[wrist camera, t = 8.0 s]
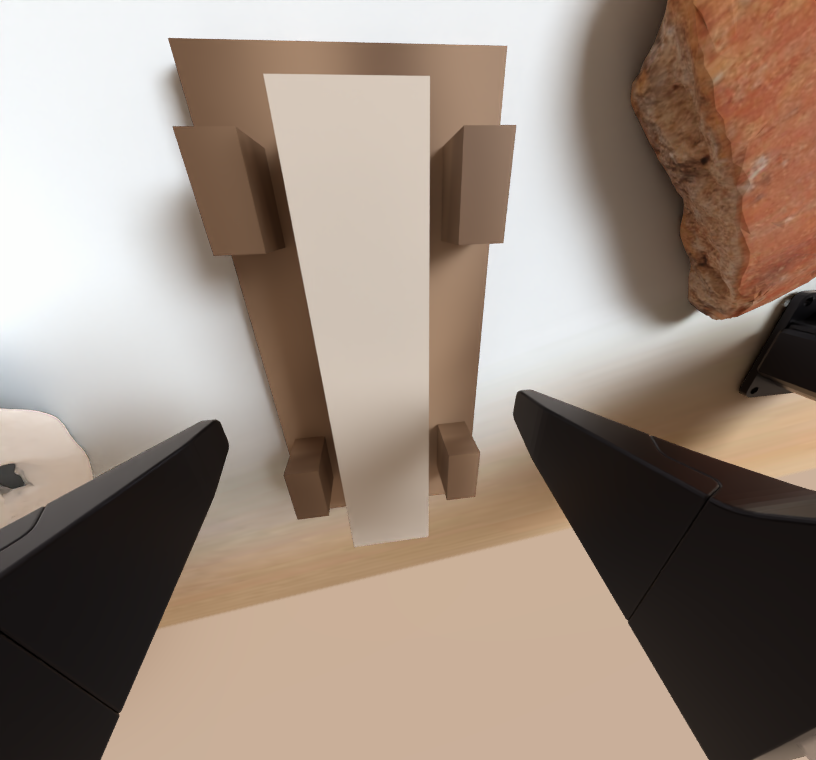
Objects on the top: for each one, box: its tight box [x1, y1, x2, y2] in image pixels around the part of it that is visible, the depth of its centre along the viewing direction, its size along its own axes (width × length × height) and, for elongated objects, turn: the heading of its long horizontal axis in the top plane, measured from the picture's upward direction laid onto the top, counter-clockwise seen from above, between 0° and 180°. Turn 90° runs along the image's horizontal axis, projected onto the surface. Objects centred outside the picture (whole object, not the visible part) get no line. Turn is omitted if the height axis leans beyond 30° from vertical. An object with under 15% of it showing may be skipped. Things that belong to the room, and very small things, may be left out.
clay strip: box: [263, 74, 430, 547], centre depth 12 cm, size 4×16×4 cm, turn 2°
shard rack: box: [168, 38, 516, 519], centre depth 13 cm, size 10×20×4 cm, turn 2°
